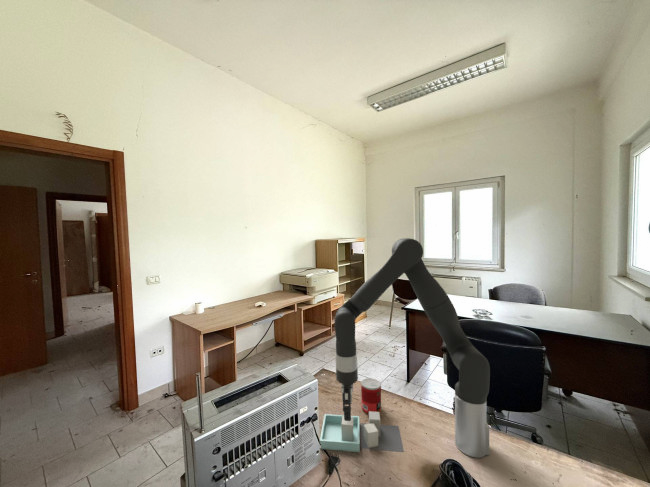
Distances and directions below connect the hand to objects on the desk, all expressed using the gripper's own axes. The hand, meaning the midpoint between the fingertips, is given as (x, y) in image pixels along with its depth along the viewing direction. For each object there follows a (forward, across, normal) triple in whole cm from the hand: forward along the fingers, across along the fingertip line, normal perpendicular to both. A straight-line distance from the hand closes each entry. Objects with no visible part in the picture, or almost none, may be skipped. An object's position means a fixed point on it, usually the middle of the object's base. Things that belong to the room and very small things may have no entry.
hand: (348, 411), depth 92 cm
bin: (+10, +1, +3) cm, 10 cm away
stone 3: (+10, -1, -8) cm, 12 cm away
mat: (+10, +2, -11) cm, 15 cm away
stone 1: (+9, 0, 0) cm, 9 cm away
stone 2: (+10, +4, -9) cm, 14 cm away
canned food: (+10, +17, -9) cm, 22 cm away
